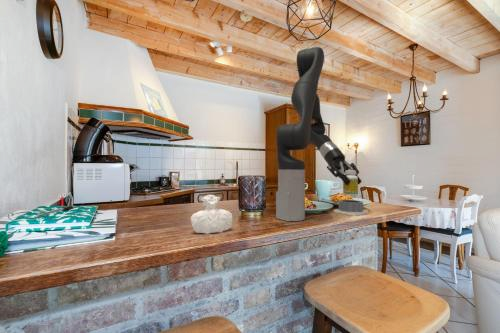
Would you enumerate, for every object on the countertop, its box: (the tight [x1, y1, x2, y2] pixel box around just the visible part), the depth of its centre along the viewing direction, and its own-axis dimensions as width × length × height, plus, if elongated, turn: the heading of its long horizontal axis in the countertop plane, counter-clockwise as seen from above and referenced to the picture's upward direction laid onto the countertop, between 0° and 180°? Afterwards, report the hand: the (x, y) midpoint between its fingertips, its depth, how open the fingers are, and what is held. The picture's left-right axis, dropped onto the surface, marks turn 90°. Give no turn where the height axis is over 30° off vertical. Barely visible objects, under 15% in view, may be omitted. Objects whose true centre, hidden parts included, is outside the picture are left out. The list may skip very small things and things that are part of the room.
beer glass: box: [342, 169, 359, 197], centre depth 94 cm, size 5×5×10 cm
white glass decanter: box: [189, 194, 233, 235], centre depth 68 cm, size 12×8×11 cm
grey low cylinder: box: [333, 199, 369, 217], centre depth 94 cm, size 9×9×4 cm
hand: (354, 183), depth 93 cm, fingers closed on beer glass, 5 cm apart
